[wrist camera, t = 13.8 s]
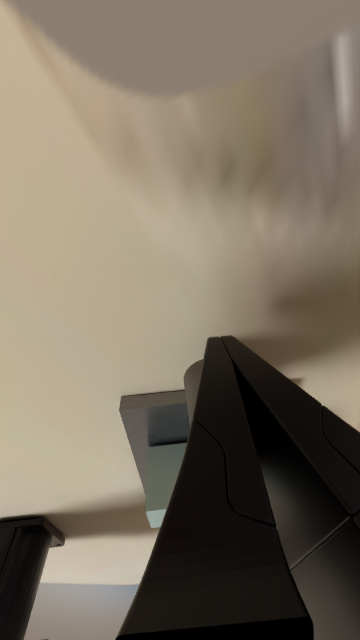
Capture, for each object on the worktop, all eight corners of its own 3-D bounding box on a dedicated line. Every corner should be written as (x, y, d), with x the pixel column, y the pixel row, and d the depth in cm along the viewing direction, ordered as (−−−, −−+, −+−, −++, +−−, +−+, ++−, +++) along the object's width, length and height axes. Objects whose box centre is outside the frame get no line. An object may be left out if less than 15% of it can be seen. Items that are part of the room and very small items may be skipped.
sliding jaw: (258, 456, 15) (288, 540, 12) (152, 469, 15) (151, 559, 11) (290, 348, 10) (361, 442, 6) (127, 363, 10) (112, 472, 6)
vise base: (250, 492, 21) (268, 553, 18) (152, 504, 20) (151, 569, 17) (285, 380, 13) (332, 455, 9) (121, 397, 12) (108, 482, 9)
